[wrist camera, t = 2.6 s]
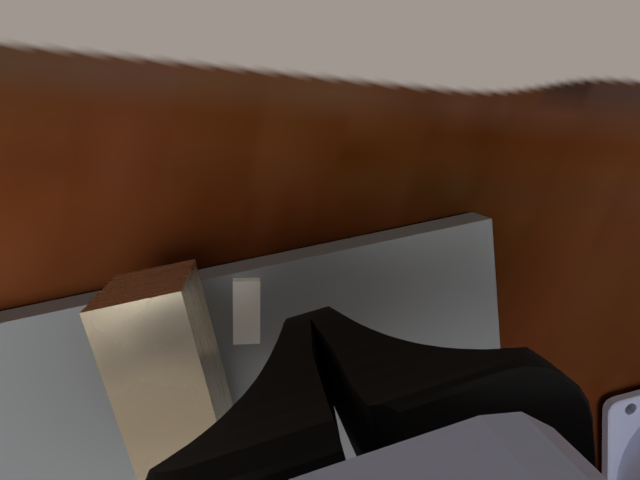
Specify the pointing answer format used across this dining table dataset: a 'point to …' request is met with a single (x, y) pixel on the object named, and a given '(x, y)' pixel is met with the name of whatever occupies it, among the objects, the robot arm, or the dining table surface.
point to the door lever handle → (157, 360)
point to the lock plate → (242, 333)
